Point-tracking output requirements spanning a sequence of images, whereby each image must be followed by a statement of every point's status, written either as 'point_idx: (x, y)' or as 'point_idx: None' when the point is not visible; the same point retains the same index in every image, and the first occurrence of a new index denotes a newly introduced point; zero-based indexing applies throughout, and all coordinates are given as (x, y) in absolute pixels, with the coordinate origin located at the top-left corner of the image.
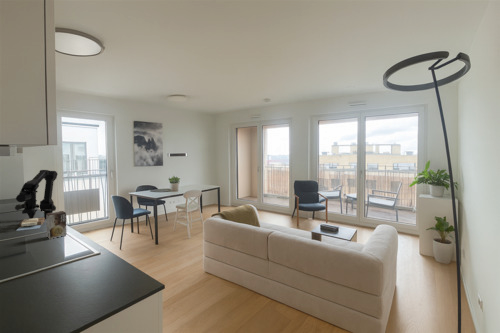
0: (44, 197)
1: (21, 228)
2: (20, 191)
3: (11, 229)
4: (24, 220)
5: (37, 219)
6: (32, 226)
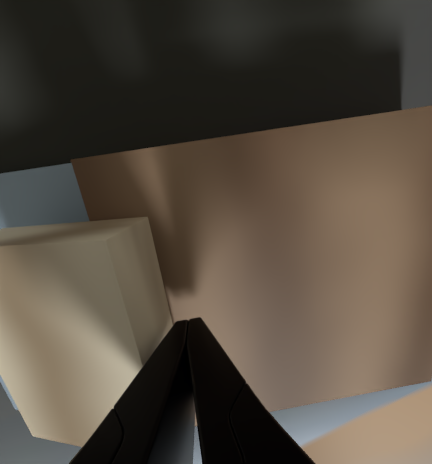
0: None
1: (15, 220)
2: None
3: (14, 66)
4: (58, 273)
5: None
6: None
